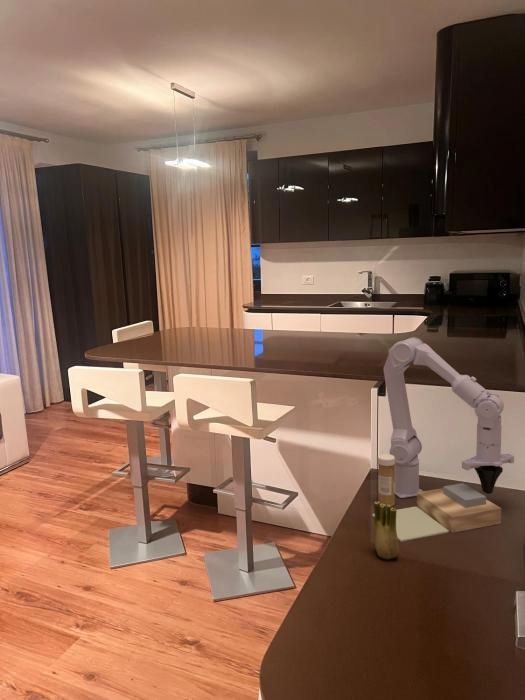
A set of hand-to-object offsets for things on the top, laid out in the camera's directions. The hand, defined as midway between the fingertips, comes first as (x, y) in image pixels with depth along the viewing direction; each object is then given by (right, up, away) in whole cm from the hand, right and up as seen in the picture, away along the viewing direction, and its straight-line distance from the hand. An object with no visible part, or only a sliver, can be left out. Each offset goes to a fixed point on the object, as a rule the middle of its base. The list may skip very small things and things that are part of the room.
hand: (487, 492), depth 131 cm
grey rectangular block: (-7, -1, -2) cm, 7 cm away
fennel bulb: (-31, -9, -19) cm, 38 cm away
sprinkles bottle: (-25, -5, +6) cm, 26 cm away
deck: (-9, -5, -2) cm, 10 cm away
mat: (-22, -6, -6) cm, 24 cm away
